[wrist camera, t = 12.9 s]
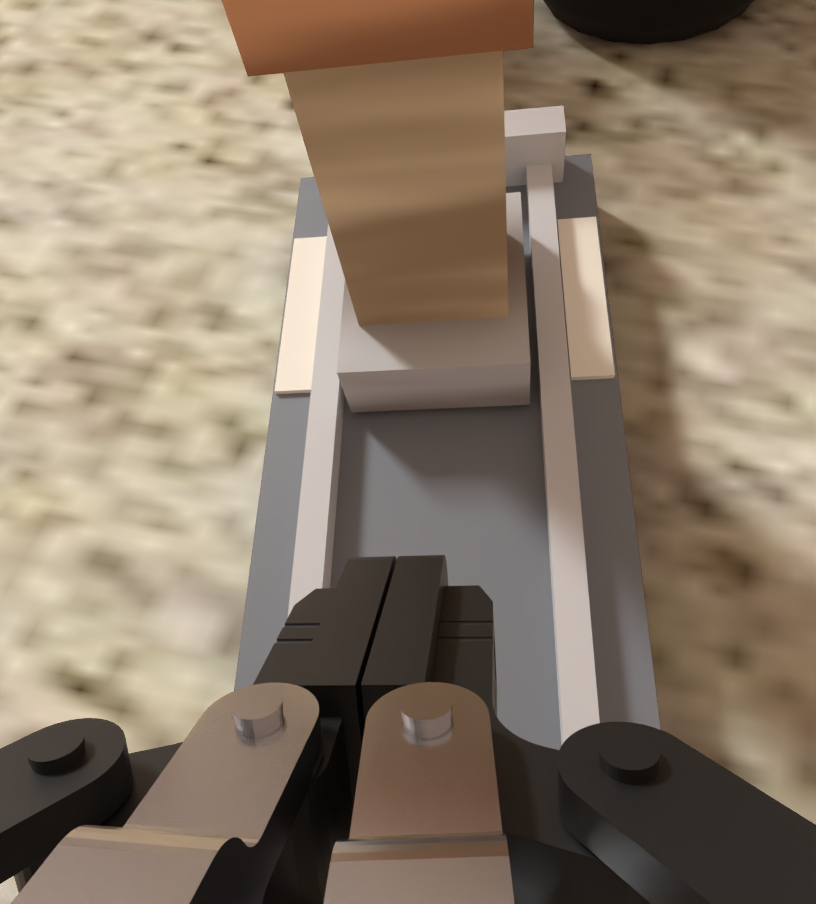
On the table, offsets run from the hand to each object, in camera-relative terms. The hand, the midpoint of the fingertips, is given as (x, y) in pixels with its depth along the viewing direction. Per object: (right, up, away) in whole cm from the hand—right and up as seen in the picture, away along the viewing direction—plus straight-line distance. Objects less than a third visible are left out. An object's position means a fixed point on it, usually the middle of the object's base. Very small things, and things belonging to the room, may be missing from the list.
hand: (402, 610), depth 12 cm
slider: (+1, +6, +11) cm, 13 cm away
